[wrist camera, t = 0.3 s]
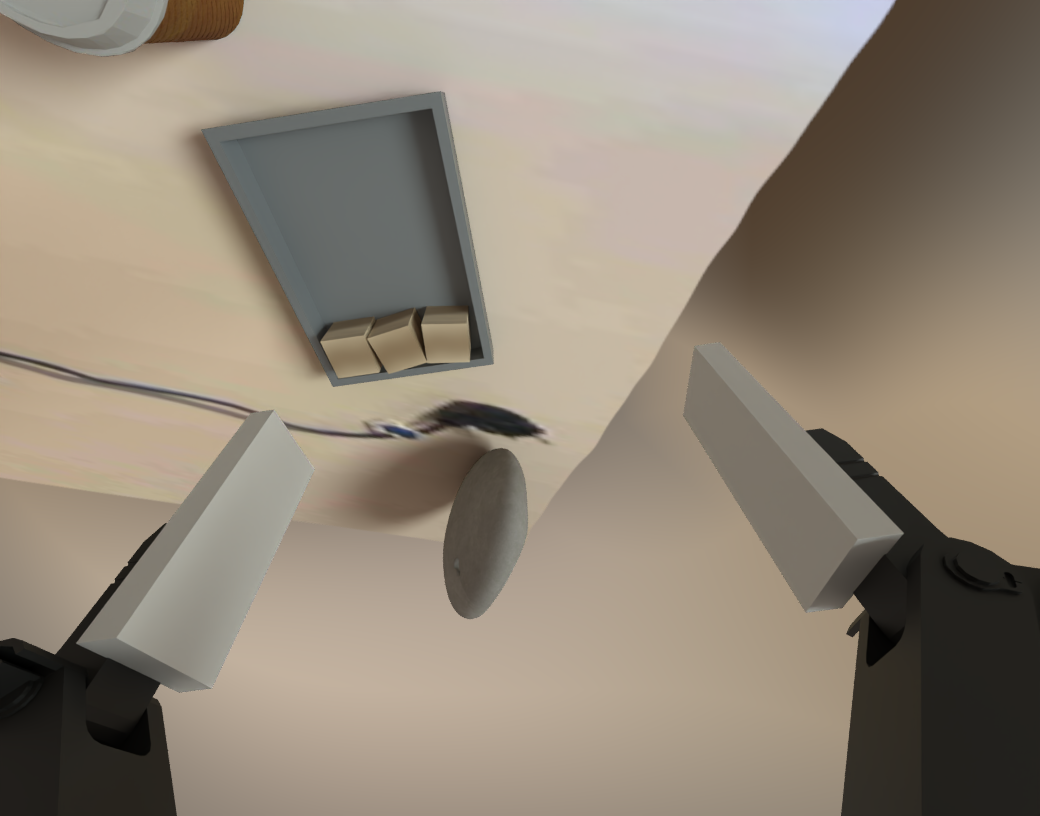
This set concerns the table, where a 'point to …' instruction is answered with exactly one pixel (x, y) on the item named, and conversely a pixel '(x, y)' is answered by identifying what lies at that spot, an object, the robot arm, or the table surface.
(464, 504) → the dark grey disc
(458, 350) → the block
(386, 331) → the block
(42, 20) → the disposable coffee cup
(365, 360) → the block
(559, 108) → the table surface
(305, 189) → the tray
